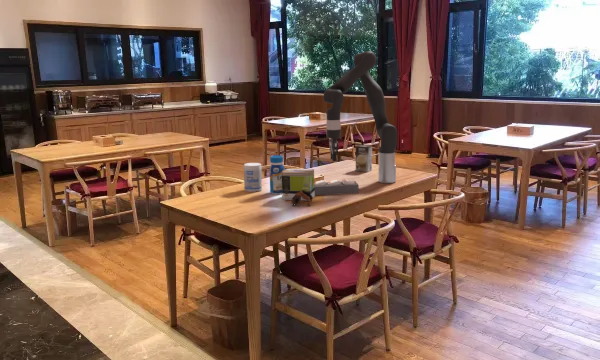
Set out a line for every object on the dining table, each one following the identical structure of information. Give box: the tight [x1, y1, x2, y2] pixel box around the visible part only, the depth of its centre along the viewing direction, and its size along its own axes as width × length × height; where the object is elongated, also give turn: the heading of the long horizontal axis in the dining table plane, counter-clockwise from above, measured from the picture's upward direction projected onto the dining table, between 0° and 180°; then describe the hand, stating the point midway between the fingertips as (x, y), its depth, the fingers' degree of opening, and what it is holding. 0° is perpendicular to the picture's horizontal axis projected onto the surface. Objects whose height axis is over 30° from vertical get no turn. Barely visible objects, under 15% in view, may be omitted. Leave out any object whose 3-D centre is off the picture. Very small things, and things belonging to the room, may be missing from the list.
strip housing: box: [315, 180, 360, 196], centre depth 269 cm, size 25×9×4 cm, turn 96°
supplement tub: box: [243, 162, 263, 193], centre depth 275 cm, size 10×10×15 cm
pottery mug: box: [291, 190, 314, 207], centre depth 245 cm, size 12×10×8 cm
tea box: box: [281, 168, 316, 202], centre depth 257 cm, size 15×10×15 cm, turn 74°
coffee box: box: [355, 144, 373, 173], centre depth 319 cm, size 9×6×16 cm
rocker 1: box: [314, 179, 326, 186], centre depth 268 cm, size 6×4×2 cm
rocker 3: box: [341, 178, 355, 185], centre depth 269 cm, size 6×4×2 cm
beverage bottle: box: [268, 154, 286, 195], centre depth 268 cm, size 8×8×20 cm
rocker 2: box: [326, 179, 341, 185], centre depth 268 cm, size 6×4×2 cm
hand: (333, 160), depth 265 cm, fingers open, 5 cm apart
